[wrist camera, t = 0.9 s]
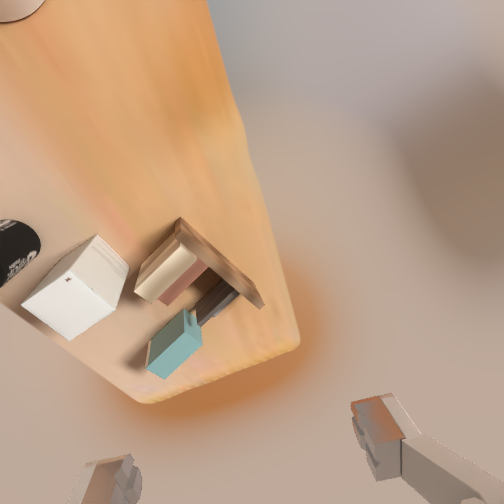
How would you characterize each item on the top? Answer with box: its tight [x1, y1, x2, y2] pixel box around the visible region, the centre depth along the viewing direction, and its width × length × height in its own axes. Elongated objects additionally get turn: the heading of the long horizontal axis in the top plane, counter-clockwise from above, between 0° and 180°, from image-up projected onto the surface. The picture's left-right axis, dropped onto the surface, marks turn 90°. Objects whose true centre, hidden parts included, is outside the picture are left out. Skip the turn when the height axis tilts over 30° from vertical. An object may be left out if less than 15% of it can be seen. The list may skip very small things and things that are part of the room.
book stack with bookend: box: [134, 217, 265, 327], centre depth 46 cm, size 18×10×9 cm, turn 42°
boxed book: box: [145, 309, 203, 379], centre depth 50 cm, size 4×9×7 cm, turn 132°
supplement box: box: [21, 234, 130, 341], centre depth 39 cm, size 7×7×13 cm
